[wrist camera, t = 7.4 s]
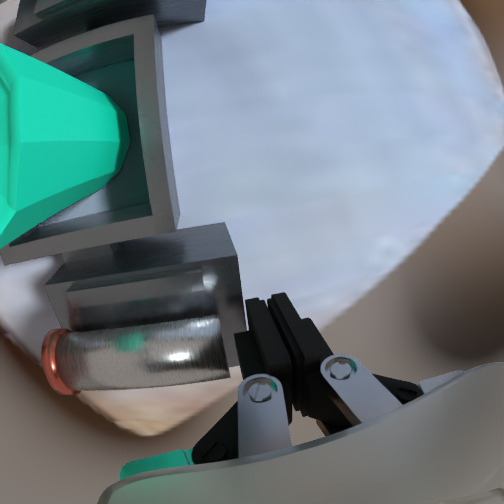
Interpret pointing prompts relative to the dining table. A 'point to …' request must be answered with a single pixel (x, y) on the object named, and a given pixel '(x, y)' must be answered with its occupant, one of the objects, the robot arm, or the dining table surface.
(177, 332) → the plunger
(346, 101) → the dining table surface
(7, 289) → the dining table surface
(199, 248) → the housing
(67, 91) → the candle
